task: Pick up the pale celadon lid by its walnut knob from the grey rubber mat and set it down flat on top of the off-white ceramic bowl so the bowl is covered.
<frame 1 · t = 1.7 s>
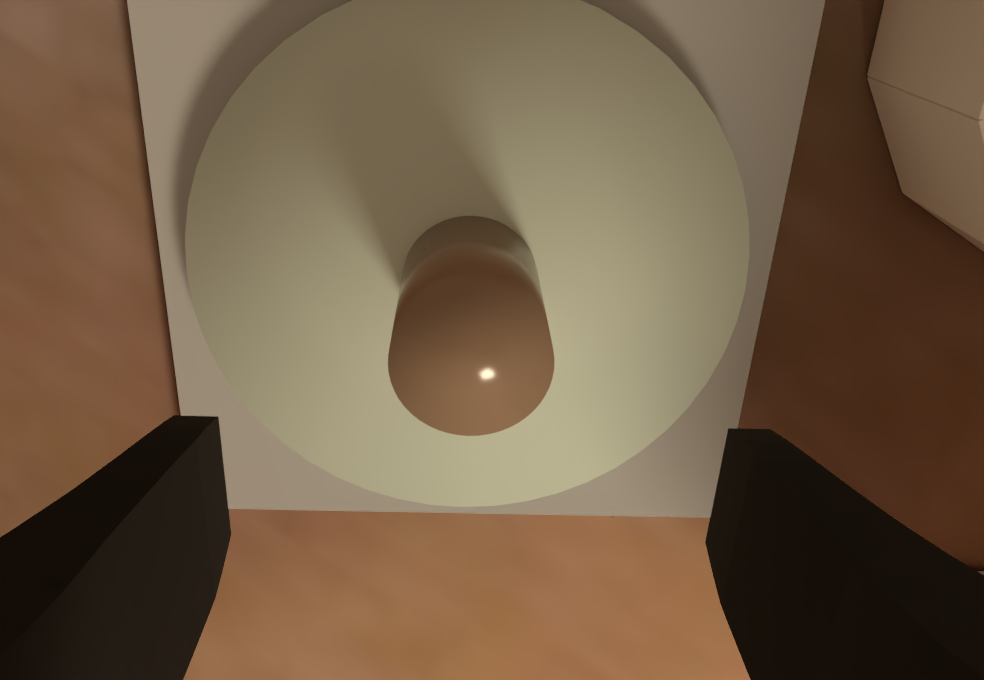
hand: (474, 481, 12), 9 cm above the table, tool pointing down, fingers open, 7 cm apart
lid: (469, 267, 20), point 1 cm above the table, touching mat
mat: (469, 258, 20), on the table
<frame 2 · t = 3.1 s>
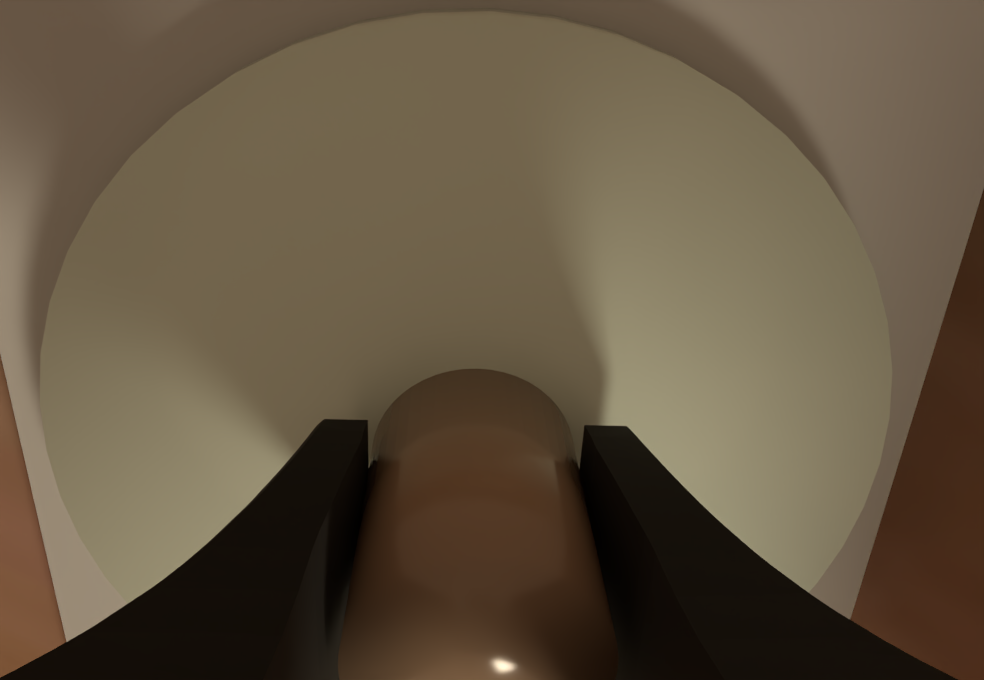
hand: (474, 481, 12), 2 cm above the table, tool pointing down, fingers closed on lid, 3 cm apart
lid: (472, 428, 14), point 1 cm above the table, touching gripper, mat
mat: (472, 409, 14), on the table
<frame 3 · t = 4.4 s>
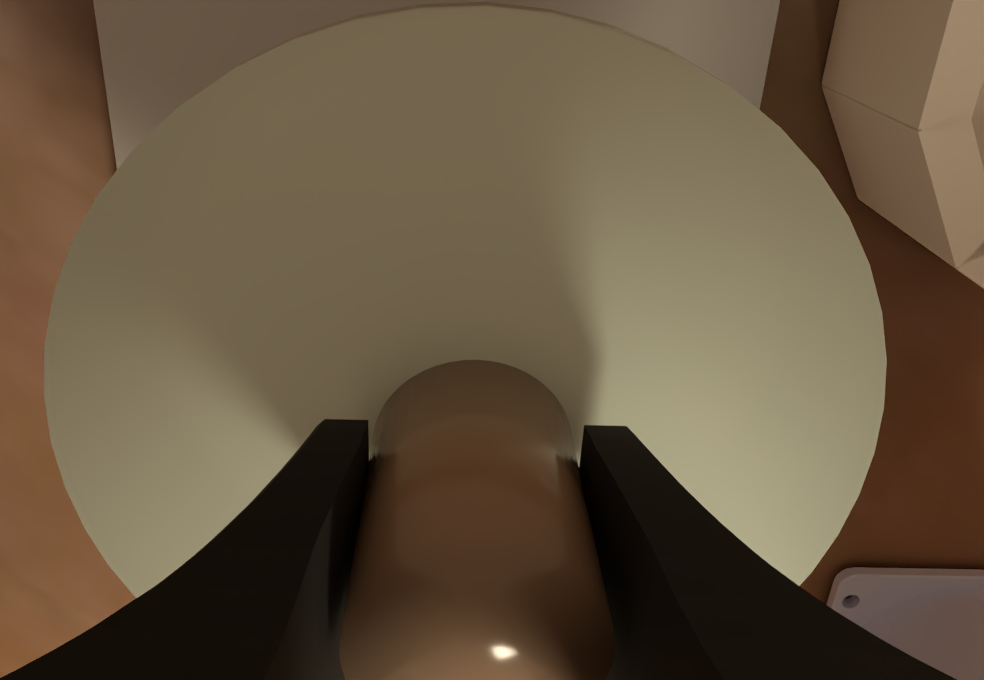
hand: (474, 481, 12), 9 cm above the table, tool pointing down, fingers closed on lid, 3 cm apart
lid: (471, 419, 14), point 8 cm above the table, touching gripper
mat: (434, 260, 21), on the table
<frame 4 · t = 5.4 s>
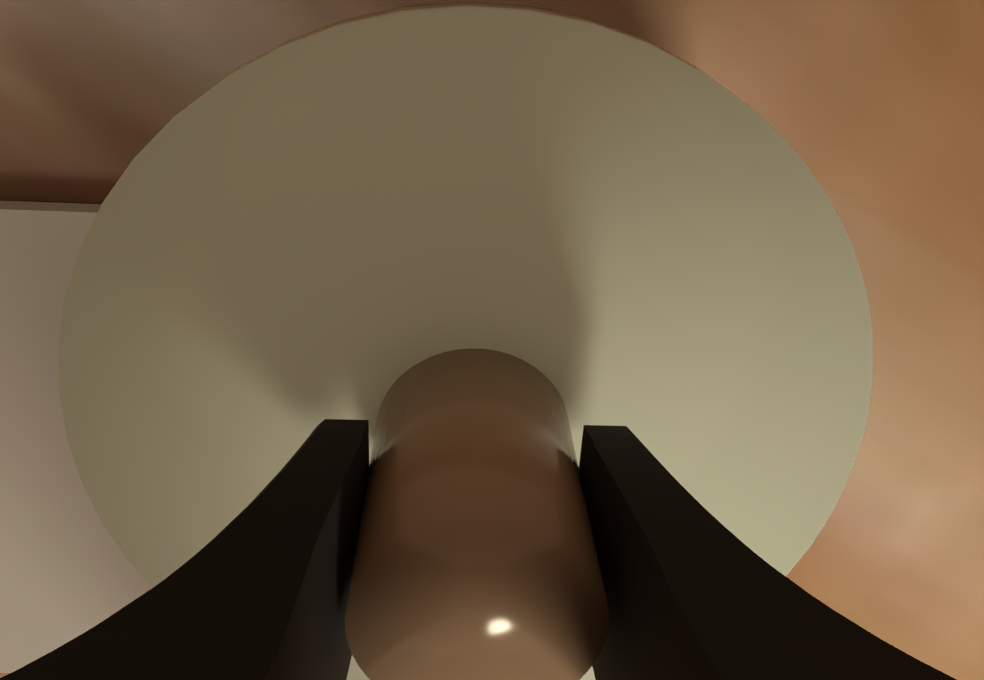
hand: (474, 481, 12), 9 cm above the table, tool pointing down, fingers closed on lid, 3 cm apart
lid: (471, 407, 14), point 7 cm above the table, touching gripper
when the fingers open (7 cm above the table, at t = 6.0 s): lid stays where it is, resting on bowl.
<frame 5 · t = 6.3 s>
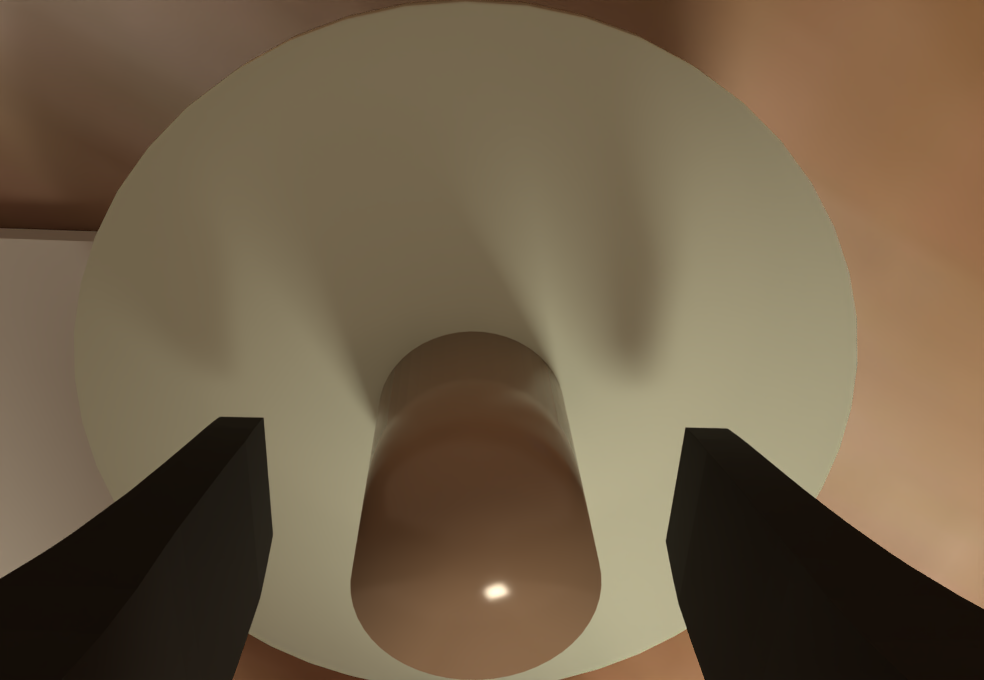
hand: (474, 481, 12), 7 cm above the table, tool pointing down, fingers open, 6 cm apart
lid: (471, 390, 15), point 4 cm above the table, touching bowl
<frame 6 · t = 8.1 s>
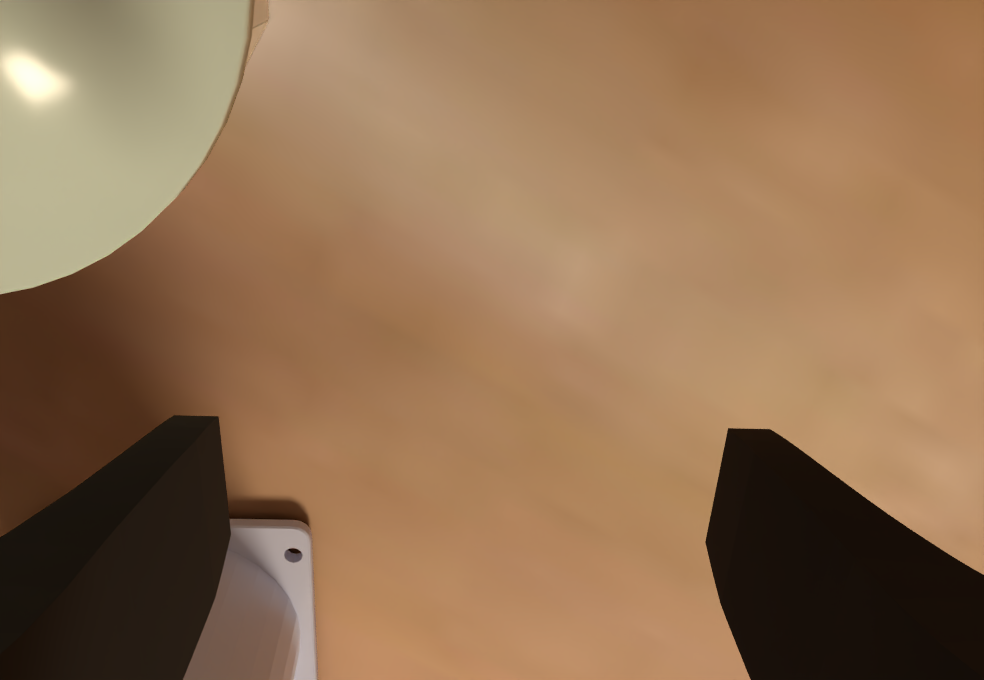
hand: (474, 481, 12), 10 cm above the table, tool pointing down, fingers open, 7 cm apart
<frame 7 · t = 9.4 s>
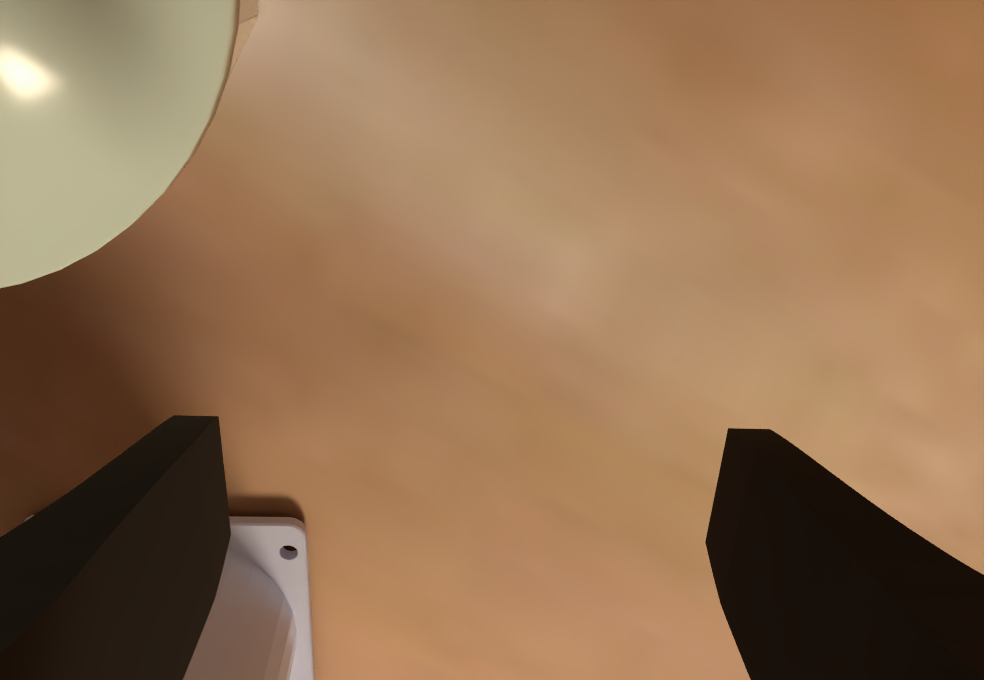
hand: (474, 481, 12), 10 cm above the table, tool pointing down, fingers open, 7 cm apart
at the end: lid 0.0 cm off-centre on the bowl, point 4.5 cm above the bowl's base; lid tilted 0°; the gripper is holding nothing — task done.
